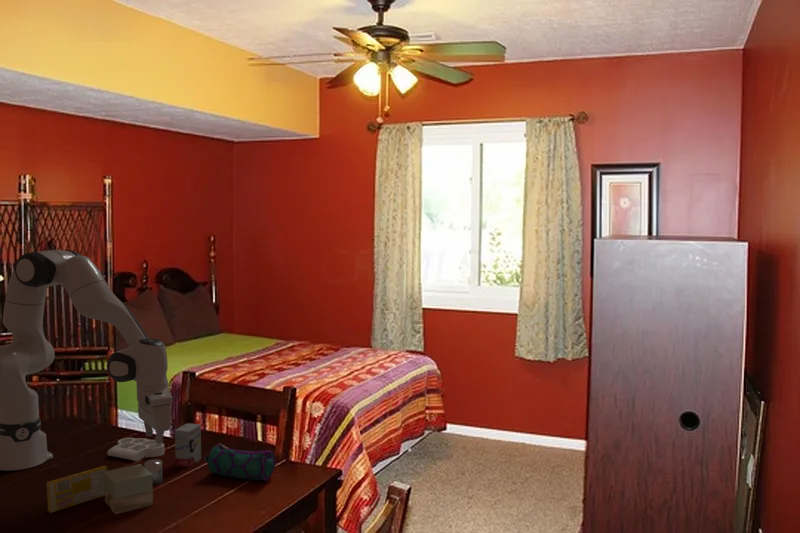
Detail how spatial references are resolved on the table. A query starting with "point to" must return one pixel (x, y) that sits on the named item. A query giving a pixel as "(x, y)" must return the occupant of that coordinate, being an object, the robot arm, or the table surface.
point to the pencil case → (241, 463)
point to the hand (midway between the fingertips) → (154, 439)
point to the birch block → (129, 501)
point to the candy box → (75, 489)
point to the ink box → (187, 445)
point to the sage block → (128, 481)
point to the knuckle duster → (136, 449)
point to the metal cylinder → (155, 470)
